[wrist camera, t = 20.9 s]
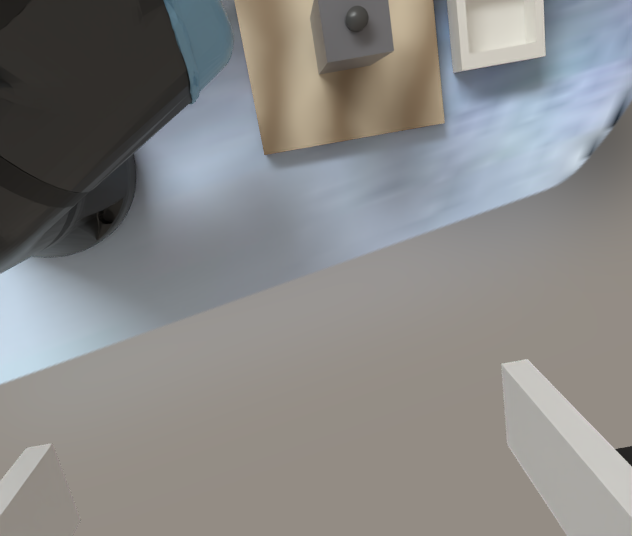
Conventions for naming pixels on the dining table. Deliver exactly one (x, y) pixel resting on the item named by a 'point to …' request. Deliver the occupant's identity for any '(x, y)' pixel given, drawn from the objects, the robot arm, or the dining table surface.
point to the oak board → (337, 77)
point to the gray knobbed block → (350, 33)
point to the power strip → (495, 32)
